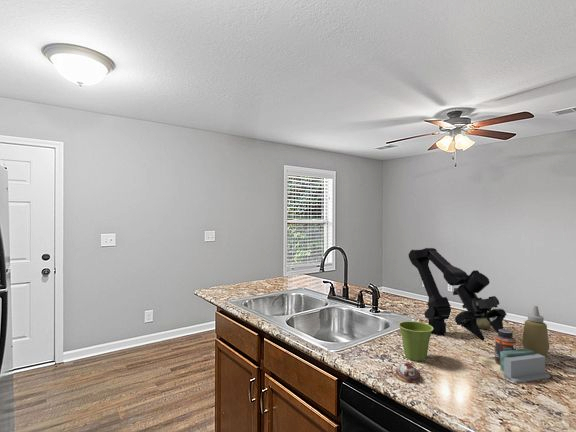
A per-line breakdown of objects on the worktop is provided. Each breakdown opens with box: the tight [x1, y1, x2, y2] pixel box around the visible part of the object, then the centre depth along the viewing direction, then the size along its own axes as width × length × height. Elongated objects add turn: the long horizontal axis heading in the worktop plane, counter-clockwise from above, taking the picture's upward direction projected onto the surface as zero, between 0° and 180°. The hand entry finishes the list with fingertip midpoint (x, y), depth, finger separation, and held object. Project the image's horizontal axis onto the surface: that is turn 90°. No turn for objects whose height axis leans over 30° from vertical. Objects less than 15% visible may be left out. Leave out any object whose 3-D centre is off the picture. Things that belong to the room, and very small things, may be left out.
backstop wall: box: [503, 354, 551, 384], centre depth 102 cm, size 4×14×6 cm, turn 105°
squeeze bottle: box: [521, 305, 550, 357], centre depth 120 cm, size 8×8×18 cm
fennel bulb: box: [477, 308, 493, 331], centre depth 148 cm, size 6×5×12 cm
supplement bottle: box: [494, 328, 517, 365], centre depth 110 cm, size 6×6×11 cm
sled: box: [478, 348, 534, 375], centre depth 110 cm, size 11×11×7 cm
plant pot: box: [397, 320, 433, 362], centre depth 116 cm, size 12×12×11 cm
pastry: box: [395, 361, 422, 384], centre depth 102 cm, size 8×8×5 cm
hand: (494, 339), depth 114 cm, fingers open, 9 cm apart
